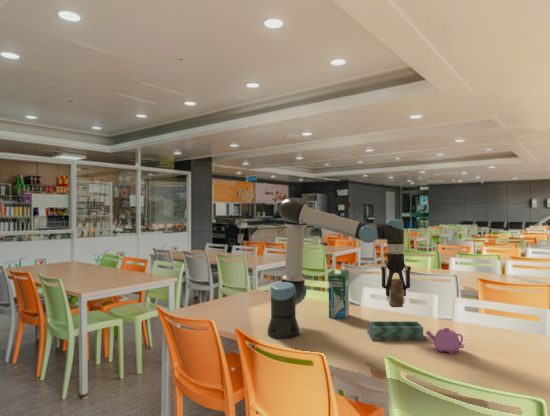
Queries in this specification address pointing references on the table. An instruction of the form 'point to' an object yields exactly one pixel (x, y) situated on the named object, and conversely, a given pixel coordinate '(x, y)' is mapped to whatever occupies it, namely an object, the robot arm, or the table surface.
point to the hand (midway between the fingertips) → (395, 303)
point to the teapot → (446, 340)
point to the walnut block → (396, 293)
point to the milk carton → (339, 294)
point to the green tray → (396, 331)
